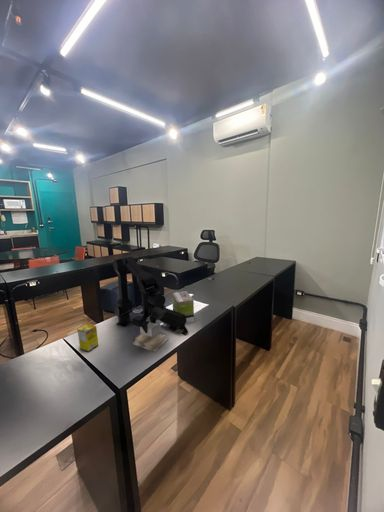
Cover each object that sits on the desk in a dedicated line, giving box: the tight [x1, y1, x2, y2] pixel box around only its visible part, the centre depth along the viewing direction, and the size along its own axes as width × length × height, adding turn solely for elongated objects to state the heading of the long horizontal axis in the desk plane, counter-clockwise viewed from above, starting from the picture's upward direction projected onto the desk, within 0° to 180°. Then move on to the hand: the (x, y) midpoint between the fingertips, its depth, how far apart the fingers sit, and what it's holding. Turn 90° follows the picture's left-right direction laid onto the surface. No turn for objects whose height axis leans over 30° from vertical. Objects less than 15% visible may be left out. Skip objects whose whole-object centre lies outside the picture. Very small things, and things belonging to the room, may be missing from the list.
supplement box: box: [77, 323, 99, 353], centre depth 103 cm, size 6×6×11 cm
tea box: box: [171, 290, 195, 325], centre depth 130 cm, size 15×10×15 cm
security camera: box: [159, 307, 189, 336], centre depth 118 cm, size 7×18×10 cm, turn 53°
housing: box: [139, 321, 160, 337], centre depth 106 cm, size 8×5×4 cm, turn 62°
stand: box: [131, 332, 169, 353], centre depth 108 cm, size 14×11×3 cm
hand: (149, 330), depth 107 cm, fingers closed on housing, 5 cm apart
